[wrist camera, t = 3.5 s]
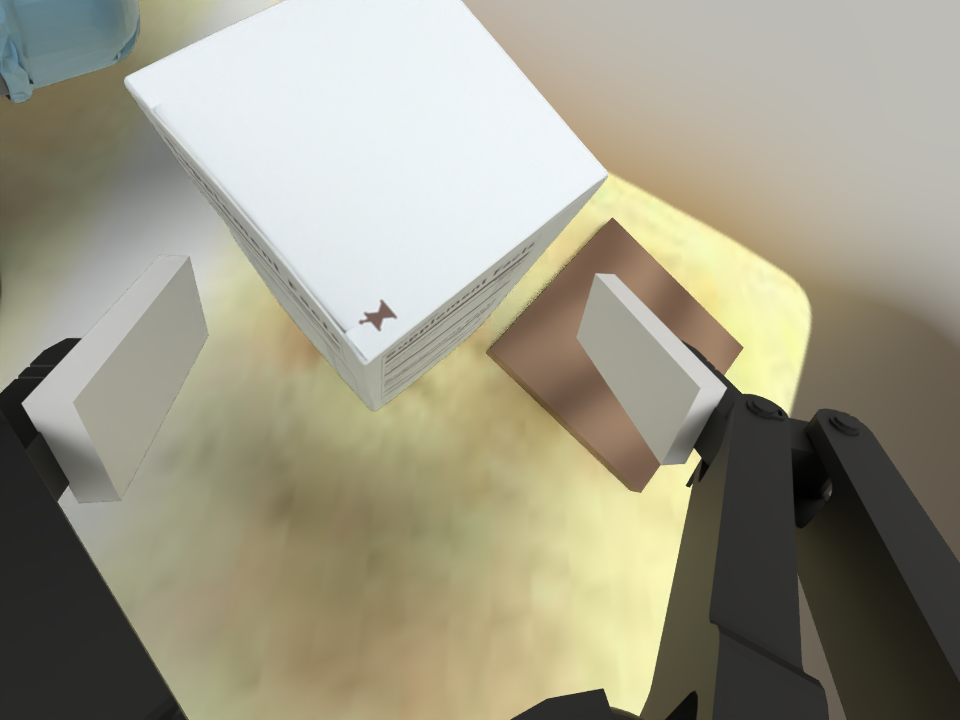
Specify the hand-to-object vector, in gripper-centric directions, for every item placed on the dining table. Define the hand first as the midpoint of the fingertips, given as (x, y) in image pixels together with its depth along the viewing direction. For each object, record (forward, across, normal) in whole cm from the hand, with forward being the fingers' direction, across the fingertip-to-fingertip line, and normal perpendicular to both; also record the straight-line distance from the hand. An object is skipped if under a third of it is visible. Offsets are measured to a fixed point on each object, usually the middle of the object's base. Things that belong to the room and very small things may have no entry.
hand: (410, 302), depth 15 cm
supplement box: (+12, -1, -7) cm, 13 cm away
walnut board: (+9, +15, -8) cm, 20 cm away
